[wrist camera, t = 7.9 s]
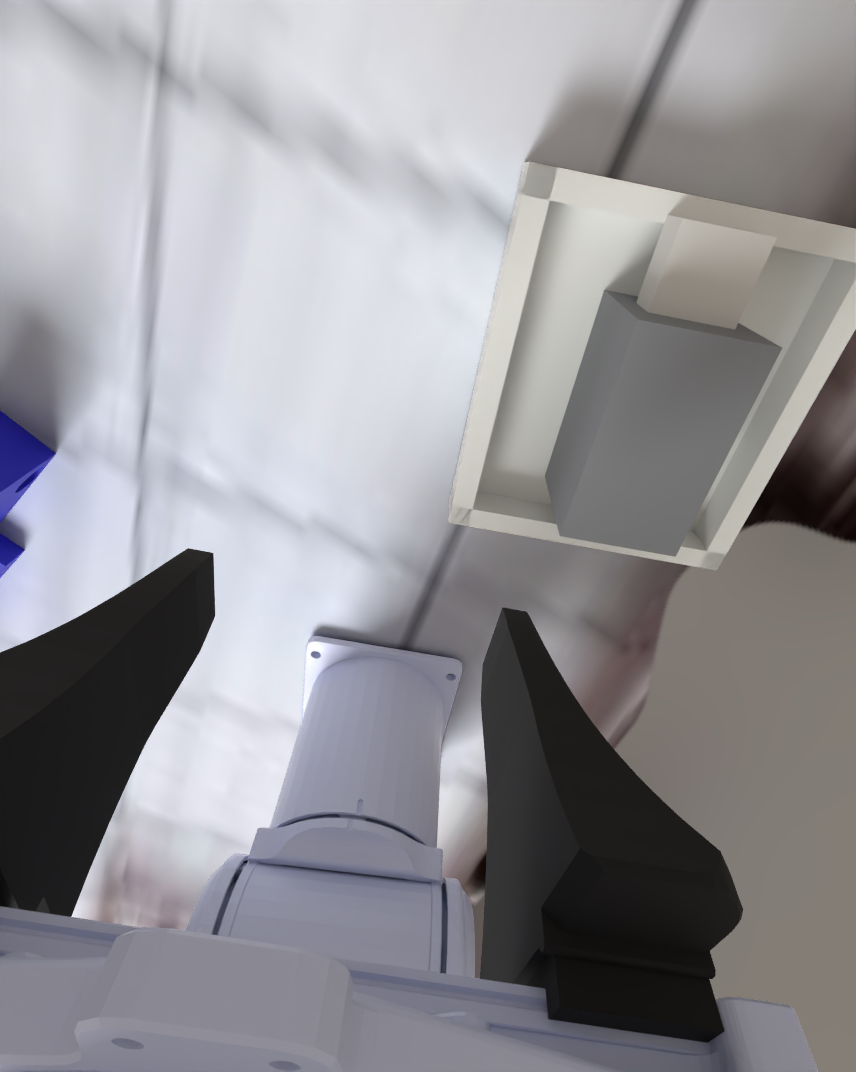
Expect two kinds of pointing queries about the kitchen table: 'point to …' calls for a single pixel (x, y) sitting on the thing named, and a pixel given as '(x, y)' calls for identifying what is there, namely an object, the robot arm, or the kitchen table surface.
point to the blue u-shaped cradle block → (17, 476)
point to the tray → (566, 322)
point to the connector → (662, 392)
